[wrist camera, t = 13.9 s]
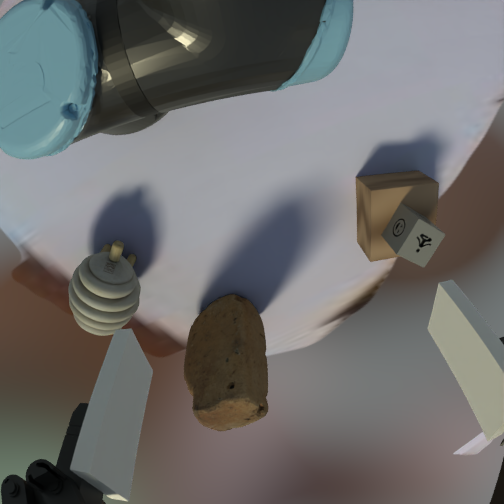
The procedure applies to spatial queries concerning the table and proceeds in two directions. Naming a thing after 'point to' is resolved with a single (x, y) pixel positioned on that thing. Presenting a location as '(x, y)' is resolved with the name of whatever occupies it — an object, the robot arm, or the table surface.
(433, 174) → the table surface
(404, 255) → the dice cube
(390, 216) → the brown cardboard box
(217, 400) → the brown oblong lump
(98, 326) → the cream beehive honey pot
